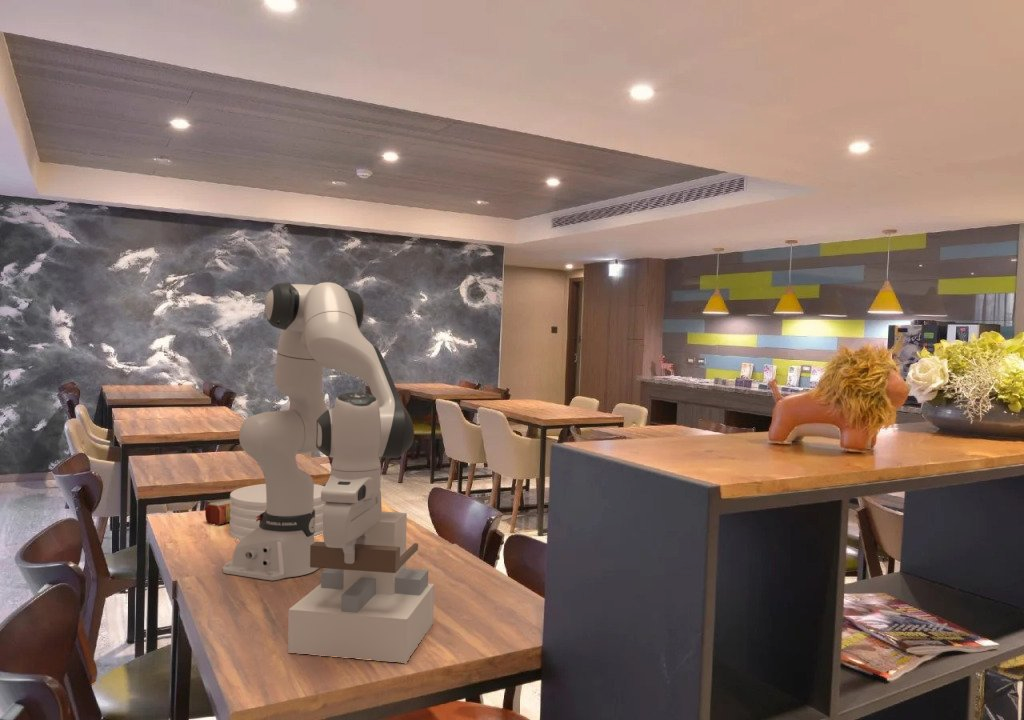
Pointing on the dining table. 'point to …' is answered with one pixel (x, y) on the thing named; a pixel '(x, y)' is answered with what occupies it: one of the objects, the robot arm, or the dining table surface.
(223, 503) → the snack package
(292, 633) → the pillar on square base
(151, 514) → the dining table surface
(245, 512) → the plate stack
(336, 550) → the glasses frame
